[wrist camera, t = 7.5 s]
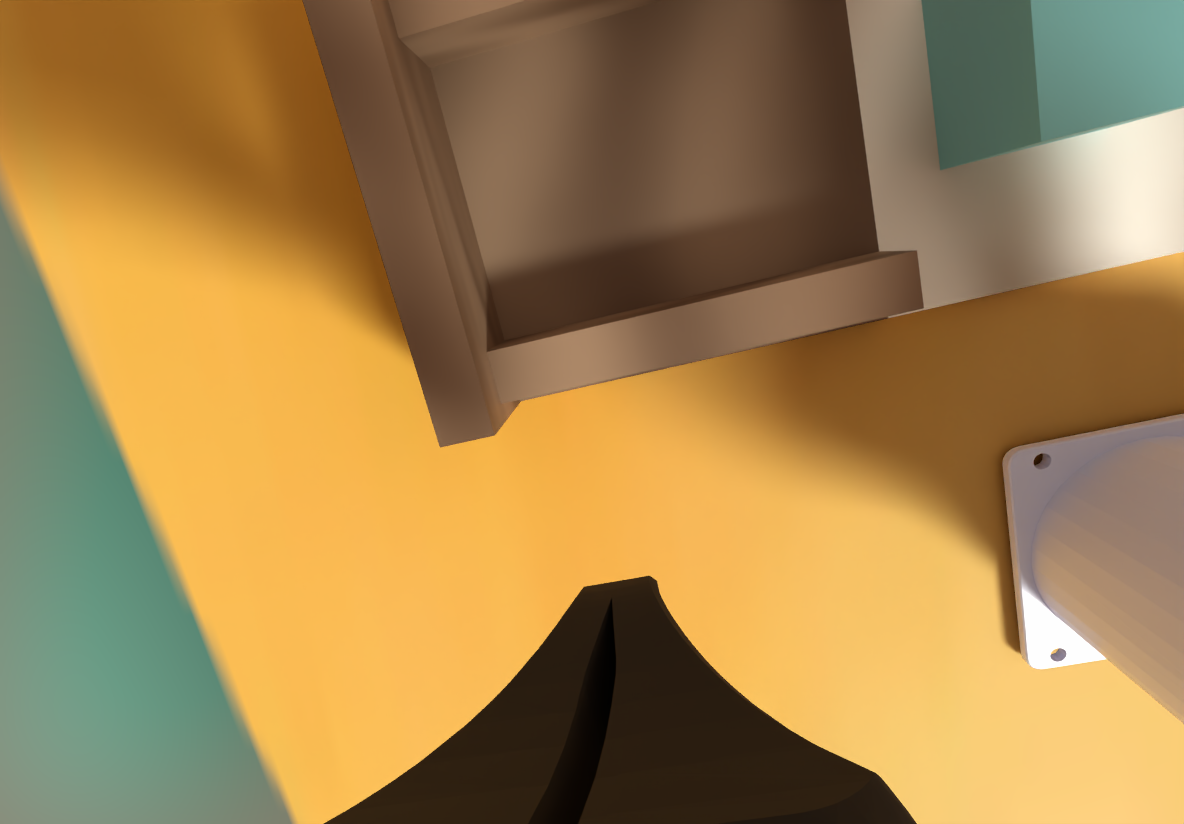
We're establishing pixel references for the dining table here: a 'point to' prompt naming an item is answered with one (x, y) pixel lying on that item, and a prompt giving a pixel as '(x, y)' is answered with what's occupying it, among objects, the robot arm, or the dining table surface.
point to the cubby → (691, 184)
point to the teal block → (1047, 70)
